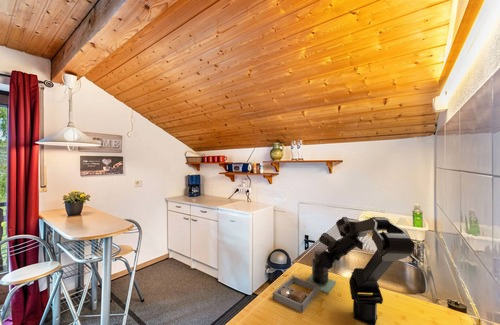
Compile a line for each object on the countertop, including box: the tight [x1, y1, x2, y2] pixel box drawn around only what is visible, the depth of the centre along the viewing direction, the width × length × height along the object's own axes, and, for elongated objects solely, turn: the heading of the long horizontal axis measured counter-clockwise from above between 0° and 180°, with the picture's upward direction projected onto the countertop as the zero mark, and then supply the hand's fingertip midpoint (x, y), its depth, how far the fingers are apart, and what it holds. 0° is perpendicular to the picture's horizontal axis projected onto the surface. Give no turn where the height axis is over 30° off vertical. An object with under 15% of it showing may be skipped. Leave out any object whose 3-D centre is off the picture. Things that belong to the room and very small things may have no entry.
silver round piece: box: [281, 288, 291, 299], centre depth 86 cm, size 4×4×3 cm
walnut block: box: [290, 288, 306, 303], centre depth 83 cm, size 4×4×4 cm
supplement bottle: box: [311, 250, 329, 284], centre depth 97 cm, size 7×7×12 cm
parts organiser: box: [272, 275, 320, 313], centre depth 88 cm, size 12×17×2 cm
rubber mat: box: [305, 273, 337, 295], centre depth 97 cm, size 11×11×1 cm
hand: (318, 264), depth 98 cm, fingers closed on supplement bottle, 7 cm apart
